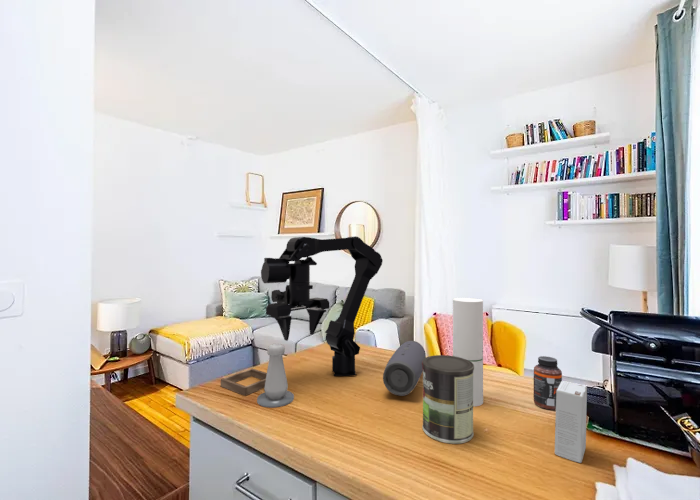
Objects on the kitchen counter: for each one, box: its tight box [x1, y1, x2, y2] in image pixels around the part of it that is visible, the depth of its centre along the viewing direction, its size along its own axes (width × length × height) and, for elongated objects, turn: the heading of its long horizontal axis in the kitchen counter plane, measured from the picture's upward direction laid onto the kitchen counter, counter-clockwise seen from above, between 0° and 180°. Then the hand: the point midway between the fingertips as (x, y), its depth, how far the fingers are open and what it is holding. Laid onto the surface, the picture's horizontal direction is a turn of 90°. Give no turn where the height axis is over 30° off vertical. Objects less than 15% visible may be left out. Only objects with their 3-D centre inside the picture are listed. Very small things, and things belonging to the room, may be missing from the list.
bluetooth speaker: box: [382, 340, 427, 397], centre depth 95 cm, size 23×9×10 cm, turn 161°
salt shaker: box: [263, 343, 289, 400], centre depth 86 cm, size 6×6×13 cm
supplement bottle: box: [533, 355, 563, 411], centre depth 82 cm, size 6×6×11 cm
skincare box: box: [554, 380, 588, 464], centre depth 63 cm, size 6×4×12 cm
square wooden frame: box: [220, 368, 267, 397], centre depth 95 cm, size 11×11×2 cm
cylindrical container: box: [452, 297, 484, 407], centre depth 85 cm, size 7×7×25 cm
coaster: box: [256, 390, 295, 408], centre depth 85 cm, size 9×9×1 cm
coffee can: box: [422, 354, 474, 445], centre depth 71 cm, size 10×10×14 cm
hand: (299, 337), depth 96 cm, fingers open, 9 cm apart
